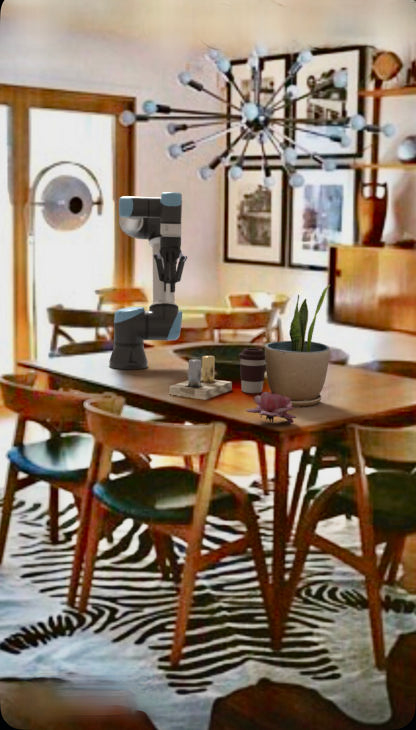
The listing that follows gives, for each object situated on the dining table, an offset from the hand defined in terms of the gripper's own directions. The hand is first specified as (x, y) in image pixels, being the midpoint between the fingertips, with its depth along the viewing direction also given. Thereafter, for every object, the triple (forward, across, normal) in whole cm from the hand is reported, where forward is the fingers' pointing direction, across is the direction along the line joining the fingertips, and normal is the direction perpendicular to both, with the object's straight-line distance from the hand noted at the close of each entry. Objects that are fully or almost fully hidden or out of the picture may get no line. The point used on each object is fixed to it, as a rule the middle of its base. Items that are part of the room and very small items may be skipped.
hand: (169, 301), depth 366 cm
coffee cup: (+30, +34, 0) cm, 45 cm away
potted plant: (+30, +54, -9) cm, 62 cm away
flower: (+30, +60, -42) cm, 79 cm away
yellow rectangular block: (+29, +20, -7) cm, 36 cm away
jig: (+29, +20, -12) cm, 38 cm away
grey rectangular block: (+29, +20, -17) cm, 39 cm away
